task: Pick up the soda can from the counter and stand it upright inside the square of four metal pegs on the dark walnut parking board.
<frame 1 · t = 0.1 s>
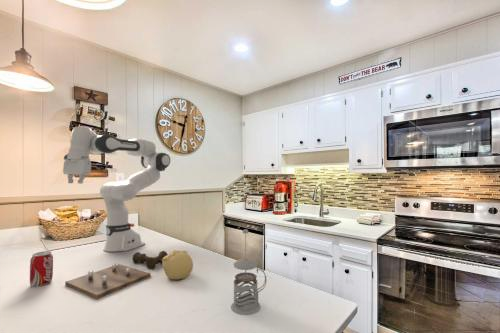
hand: (75, 183, 129), 39 cm above the table, tool pointing down, fingers open, 8 cm apart
peg board: (109, 281, 102), on the table
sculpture: (178, 277, 106), on the table
kendama: (151, 265, 120), on the table
french press: (248, 307, 82), on the table
soda can: (41, 284, 99), on the table
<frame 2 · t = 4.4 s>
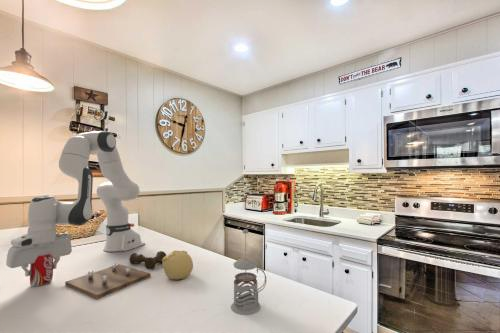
hand: (41, 272, 99), 5 cm above the table, tool pointing down, fingers closed on soda can, 7 cm apart
soda can: (41, 284, 99), on the table, touching gripper
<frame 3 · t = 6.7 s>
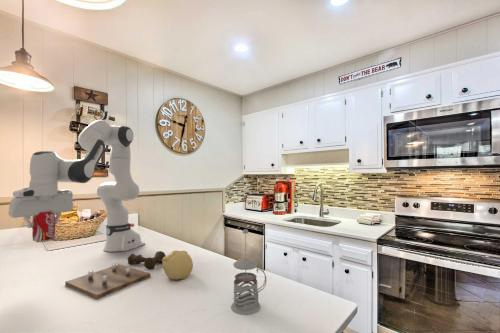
hand: (43, 225, 100), 23 cm above the table, tool pointing down, fingers closed on soda can, 7 cm apart
soda can: (43, 241, 100), point 17 cm above the table, touching gripper
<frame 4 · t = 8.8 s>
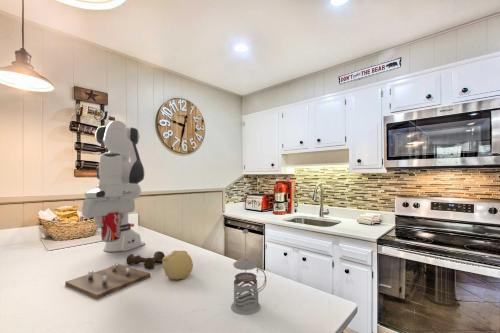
hand: (110, 225, 103), 22 cm above the table, tool pointing down, fingers closed on soda can, 7 cm apart
soda can: (111, 240, 103), point 16 cm above the table, touching gripper
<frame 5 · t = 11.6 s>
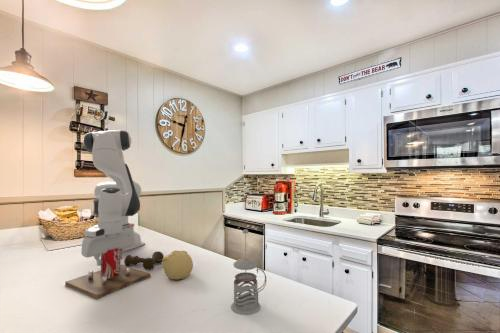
hand: (109, 262, 102), 8 cm above the table, tool pointing down, fingers closed on soda can, 7 cm apart
soda can: (110, 277, 102), point 1 cm above the table, touching gripper, peg board
when the fingers open (8 cm above the table, at t = 12.4 s): soda can moves 3 cm, resting on peg board.
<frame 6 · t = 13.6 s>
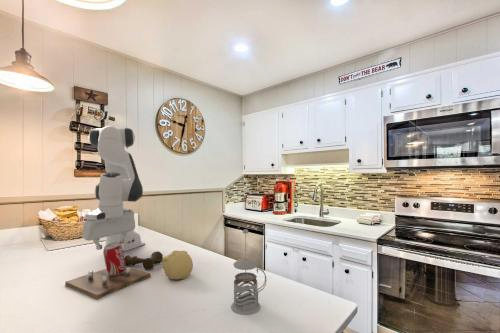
hand: (110, 246, 103), 14 cm above the table, tool pointing down, fingers open, 8 cm apart
soda can: (117, 272, 105), point 2 cm above the table, touching peg board
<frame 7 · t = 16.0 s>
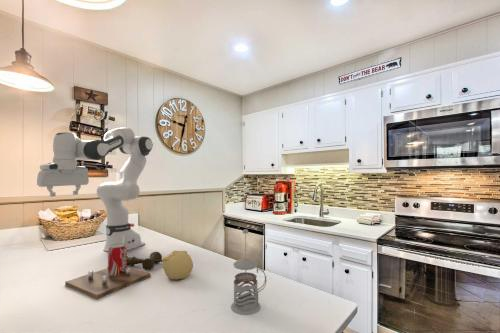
hand: (64, 195, 118), 34 cm above the table, tool pointing down, fingers open, 8 cm apart
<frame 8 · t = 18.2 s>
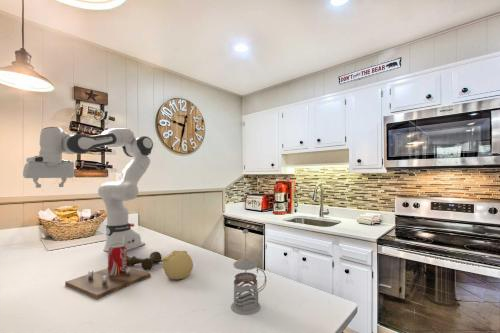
hand: (50, 187, 124), 37 cm above the table, tool pointing down, fingers open, 8 cm apart
at the end: soda can inside the target area on the peg board (3.5 cm from its centre), point 1.3 cm above the peg board's base; soda can tilted 0°; the gripper is holding nothing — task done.
